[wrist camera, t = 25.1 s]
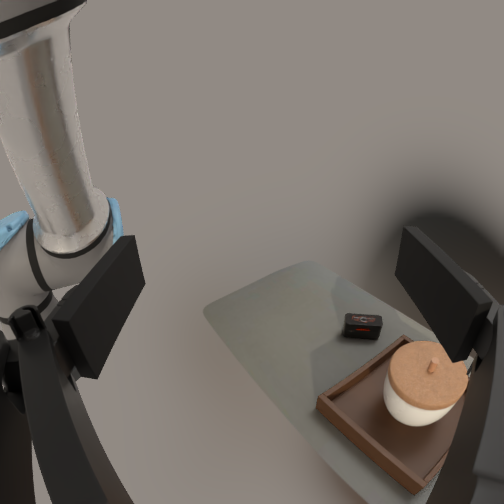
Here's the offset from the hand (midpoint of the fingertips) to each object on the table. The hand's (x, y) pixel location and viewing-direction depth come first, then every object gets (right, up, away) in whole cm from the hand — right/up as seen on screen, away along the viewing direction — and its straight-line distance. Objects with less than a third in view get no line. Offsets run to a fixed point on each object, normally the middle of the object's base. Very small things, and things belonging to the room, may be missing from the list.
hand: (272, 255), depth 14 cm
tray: (+20, -21, +18) cm, 35 cm away
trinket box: (+20, -21, +18) cm, 34 cm away
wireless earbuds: (+18, -14, +34) cm, 41 cm away
